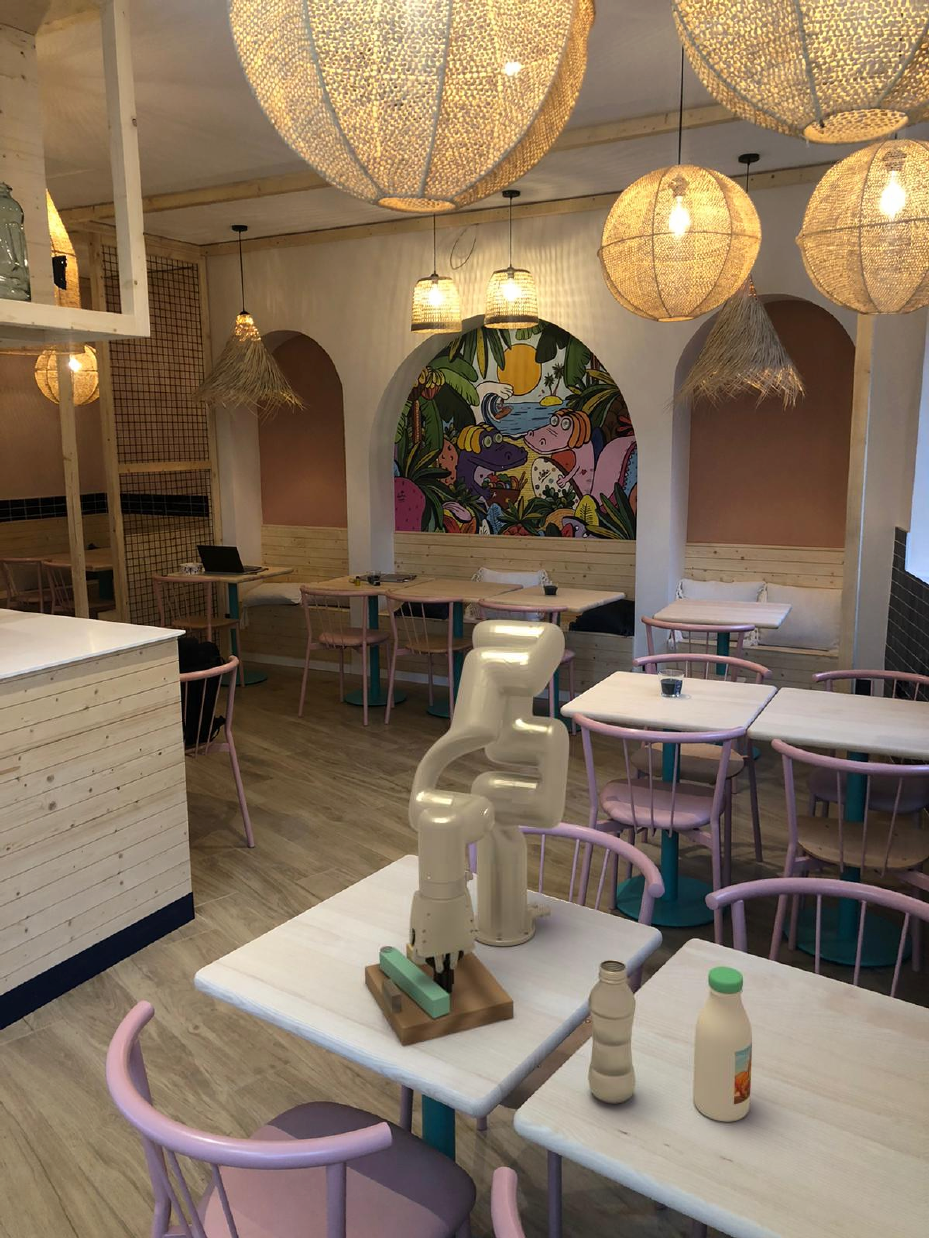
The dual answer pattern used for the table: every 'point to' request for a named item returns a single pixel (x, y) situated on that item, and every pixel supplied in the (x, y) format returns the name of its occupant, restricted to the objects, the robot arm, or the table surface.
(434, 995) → the folding leg
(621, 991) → the plastic bottle
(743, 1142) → the table surface
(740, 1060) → the milk bottle
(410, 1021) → the stool seat
